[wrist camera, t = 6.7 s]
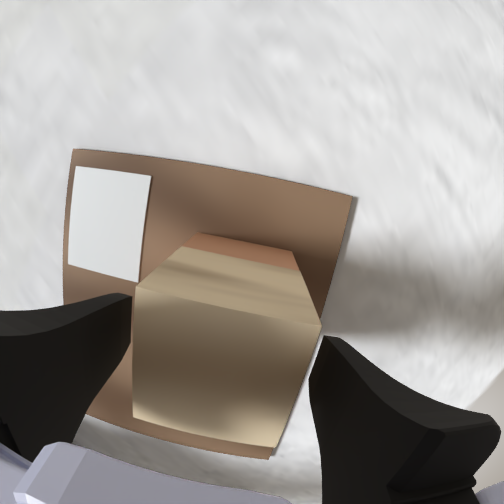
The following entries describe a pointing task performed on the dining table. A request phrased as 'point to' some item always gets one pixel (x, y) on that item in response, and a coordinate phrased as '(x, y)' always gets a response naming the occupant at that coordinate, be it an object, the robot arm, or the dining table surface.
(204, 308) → the maple block
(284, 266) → the terracotta base block
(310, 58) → the dining table surface
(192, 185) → the build board
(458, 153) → the dining table surface
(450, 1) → the dining table surface
